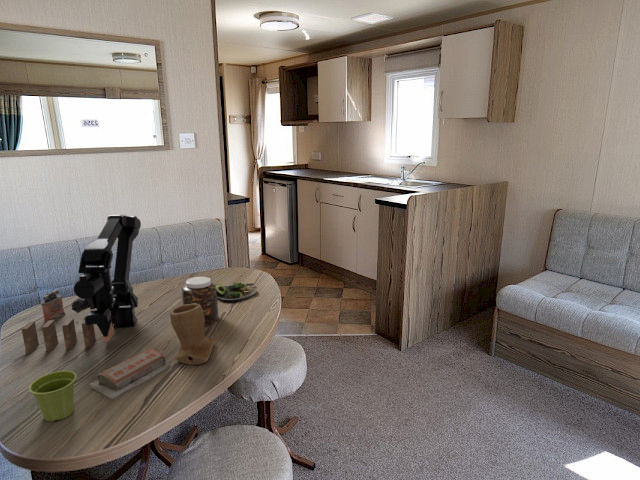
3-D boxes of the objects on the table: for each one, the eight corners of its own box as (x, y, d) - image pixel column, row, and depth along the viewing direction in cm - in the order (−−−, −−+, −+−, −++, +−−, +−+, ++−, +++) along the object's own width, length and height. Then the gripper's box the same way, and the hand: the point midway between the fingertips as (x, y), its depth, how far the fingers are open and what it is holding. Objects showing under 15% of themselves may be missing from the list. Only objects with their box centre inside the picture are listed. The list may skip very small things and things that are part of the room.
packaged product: (147, 343, 123) (169, 352, 118) (149, 358, 125) (171, 368, 119) (87, 372, 109) (109, 384, 103) (89, 389, 110) (112, 401, 105)
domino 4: (95, 339, 135) (92, 316, 133) (90, 346, 131) (87, 323, 129) (90, 339, 135) (86, 317, 133) (85, 347, 130) (81, 323, 128)
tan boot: (180, 342, 133) (175, 298, 129) (217, 341, 134) (214, 297, 130) (165, 368, 118) (160, 319, 115) (207, 367, 119) (203, 318, 115)
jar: (217, 311, 156) (214, 273, 152) (219, 324, 145) (216, 284, 142) (184, 315, 153) (180, 276, 149) (184, 329, 142) (180, 288, 138)
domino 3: (77, 341, 134) (73, 318, 132) (71, 348, 130) (67, 325, 128) (71, 341, 134) (67, 318, 132) (65, 349, 129) (61, 325, 127)
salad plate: (243, 282, 187) (242, 273, 186) (267, 293, 175) (267, 282, 174) (204, 294, 174) (203, 283, 173) (227, 306, 162) (226, 295, 161)
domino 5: (113, 333, 136) (110, 310, 134) (109, 340, 131) (106, 317, 129) (108, 333, 136) (105, 311, 134) (103, 341, 131) (100, 317, 129)
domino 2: (58, 343, 133) (54, 319, 131) (52, 350, 129) (47, 326, 127) (52, 343, 133) (48, 320, 131) (46, 351, 128) (41, 327, 126)
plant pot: (25, 421, 97) (19, 388, 95) (63, 398, 105) (57, 367, 103) (54, 431, 94) (48, 397, 91) (90, 406, 102) (85, 374, 100)
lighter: (49, 323, 147) (45, 297, 144) (41, 322, 148) (36, 296, 145) (67, 314, 155) (63, 288, 152) (59, 313, 155) (55, 288, 153)
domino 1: (39, 344, 132) (34, 321, 130) (32, 352, 127) (27, 328, 125) (33, 345, 132) (29, 322, 130) (26, 353, 127) (21, 329, 125)
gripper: (83, 278, 137) (89, 322, 141) (61, 300, 119) (69, 349, 123) (119, 276, 139) (125, 319, 143) (103, 296, 121) (110, 345, 125)
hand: (108, 332), depth 133 cm, fingers closed on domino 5, 5 cm apart
